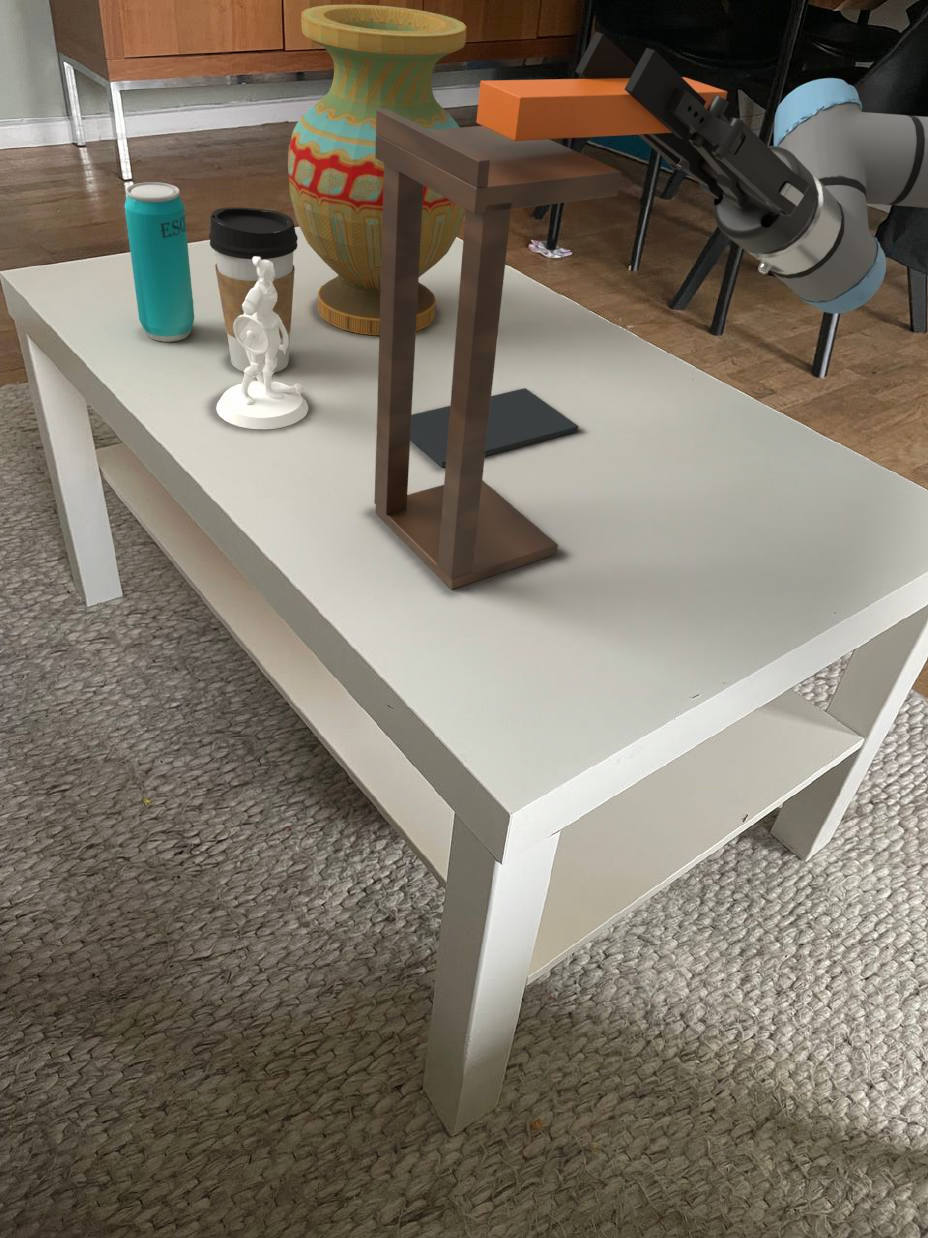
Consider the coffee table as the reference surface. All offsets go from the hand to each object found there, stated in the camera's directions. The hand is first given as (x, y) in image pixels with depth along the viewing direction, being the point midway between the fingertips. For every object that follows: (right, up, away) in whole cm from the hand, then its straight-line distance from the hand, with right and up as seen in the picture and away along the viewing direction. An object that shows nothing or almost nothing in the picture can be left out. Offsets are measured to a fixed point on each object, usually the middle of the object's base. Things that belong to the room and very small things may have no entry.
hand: (613, 61), depth 66 cm
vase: (-20, 0, +53) cm, 56 cm away
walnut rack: (-10, -30, +18) cm, 36 cm away
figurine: (-29, -16, +32) cm, 47 cm away
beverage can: (-42, -6, +43) cm, 61 cm away
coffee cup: (-31, -10, +40) cm, 52 cm away
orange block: (0, -3, +2) cm, 4 cm away
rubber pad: (-8, -18, +33) cm, 38 cm away
